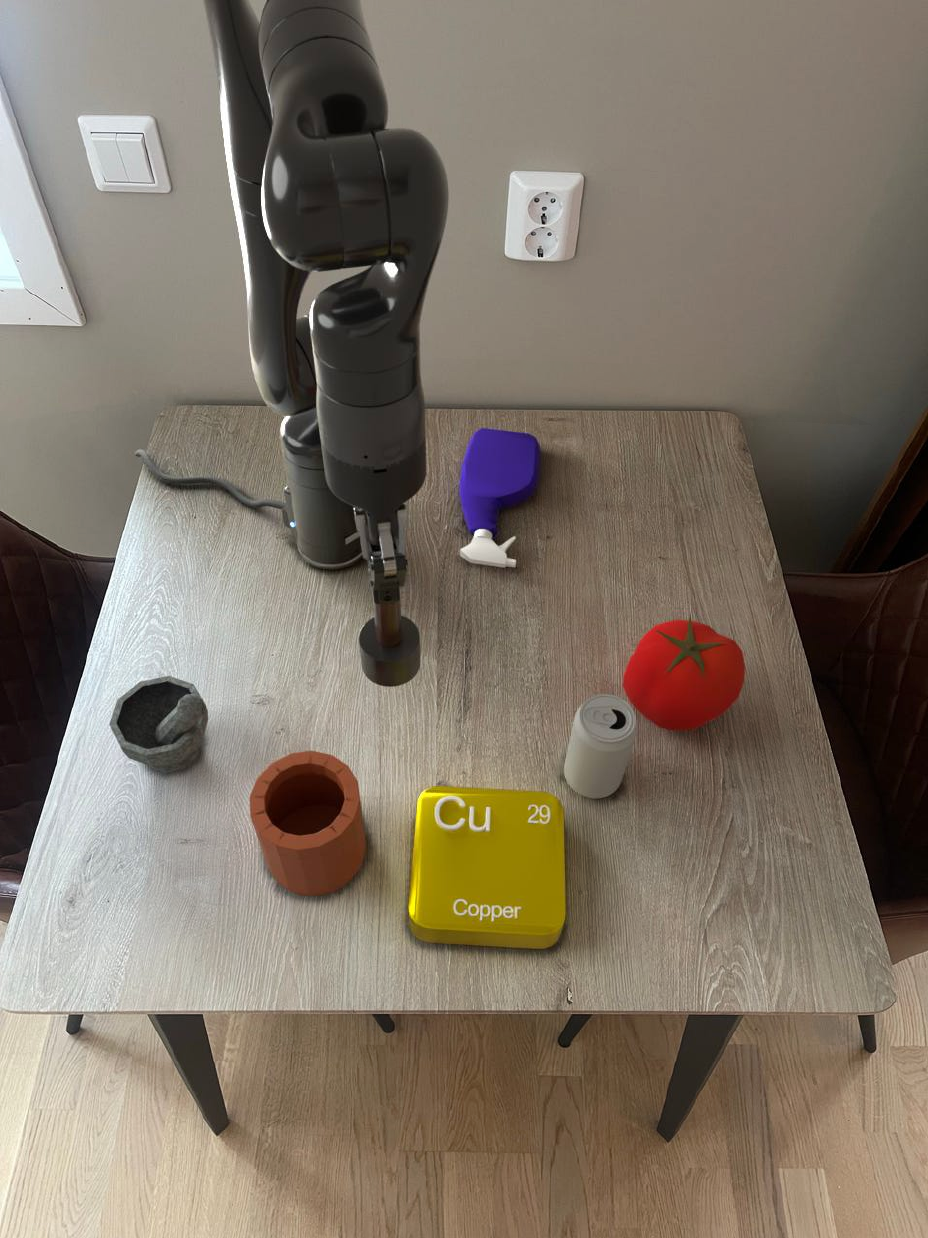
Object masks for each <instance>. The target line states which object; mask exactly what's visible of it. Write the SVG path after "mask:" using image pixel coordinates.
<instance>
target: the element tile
mask: <svg viewBox="0 0 928 1238" xmlns="http://www.w3.org/2000/svg"><path fill="white" fill-rule="evenodd" d="M415 811H416V813H415V822H414V823H415V824H414V835H413V844H412V845H413V847H412V857H411V868H410V880H409V892H408V904H407V906H408V907H407V911H408V925H409V929H410V931H411V933H412V935H413V936H414V937H415V938H416V939H418V940H420V941H422V942H425V943H429V944H431V943H432V944H448V945H464V946H483V947H499V948H516V949H530V950H531V949H533V950H542V949H548V948H550V947H553V946H554V945H555V944H556V943H558V941H559V939H560V937H561V935H562V931H563V928H564V925H565V922H566V916H567V911H566V909H567V908H566V907H567V905H566V859H565V858H566V857H565V856H566V855H565V851H566V850H565V811H564V807H563V804H562V802H561V801H560V799H559V798H558V797H557V796H556V795H555V794H552V793H549V792H546V791H537V790H520V789H519V790H518V789H502V788H486V787H465V786H450V785H434V786H431V787H427V788H425V790H423V791H422V792H421V794H420V796H419V798H418V799H417V802H416V810H415Z"/></svg>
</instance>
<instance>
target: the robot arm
mask: <svg viewBox="0 0 928 1238" xmlns="http://www.w3.org/2000/svg"><path fill="white" fill-rule="evenodd" d="M202 1H203V7H204V12H205V16H206V21H207V27H208V32H209V38H210V43H211V49H212V53H213V60H214V66H215V75H216V82H217V89H218V97H219V98H218V99H219V106H220V115H221V122H222V132H223V139H224V149H225V158H226V165H227V171H228V179H229V186H230V193H231V199H232V204H233V209H234V214H235V218H236V224H237V225H236V226H237V230H238V235H239V236H238V237H239V243H240V248H241V254H242V261H243V262H242V263H243V269H244V278H245V289H246V307H247V308H246V309H247V325H248V327H247V328H248V342H249V344H248V345H249V354H250V362H251V367H252V373H253V376H254V380H255V383H256V385H257V389H258V391H259V393H260V396H261V397H262V399H263V401H264V402H265V404H266V406H267V407H268V408H269V409H270V410H271V411H272V412H273V413H275V414H277V415H279V416H281V417H284V418H283V419H282V420H281V424H280V428H279V439H280V445H281V450H282V456H283V460H284V462H283V463H284V468H285V472H286V480H287V486H285V488H284V489H283V494H284V495H283V496H284V501H285V502H284V501H281V500H280V501H279V500H275V499H269V498H268V499H265V498H264V499H259V500H254V499H251V498H249V497H248V496H246V495H245V494H244V493H242V492H241V491H240V490H239V489H238V488H237V487H236V486H234V485H233V484H232V483H231V482H228V481H227V480H225V479H223V478H220V477H216V476H209V475H198V476H197V475H195V476H172V475H168V474H166V473H165V472H162V471H161V470H160V469H159V467H157V465H156V464H155V463H154V461H153V459H152V458H151V456H150V455H149V454H148V452H146V450H144V449H137V450H136V451H135V452H134V456H135V457H137V458H140V457H141V459H142V460H143V461H144V463H145V465H146V466H147V468H148V469H149V471H151V473H152V474H153V476H155V477H157V478H158V479H159V480H161V481H162V482H165V483H168V484H173V485H174V484H175V485H192V484H193V485H195V484H210V485H216V486H220V487H222V488H224V489H225V490H227V491H228V492H230V493H231V494H232V495H233V496H234V497H235V498H237V499H238V500H239V502H241V503H242V504H244V505H246V506H247V507H250V508H255V509H258V508H264V507H267V508H268V507H269V508H275V509H279V510H281V515H282V520H283V525H284V527H286V528H288V529H289V530H290V535H291V541H292V543H293V544H295V545H296V546H297V550H298V553H299V555H300V557H301V558H302V559H303V560H304V561H305V562H306V563H307V564H309V565H311V566H313V567H315V568H318V569H321V570H333V571H334V570H340V569H341V570H342V569H346V568H348V567H351V566H353V565H355V564H356V563H359V561H360V560H361V559H364V560H365V561H367V572H368V576H369V578H370V587H371V589H372V588H373V597H374V602H375V603H376V604H387V603H394V602H397V601H399V600H400V601H401V588H402V587H405V583H406V578H407V570H408V566H409V561H408V558H406V555H405V554H406V552H407V547H406V546H407V545H406V530H405V529H406V527H407V525H408V512H407V505H406V502H408V501H409V500H410V499H412V498H413V497H415V495H417V494H418V492H420V490H421V489H422V488H423V485H424V483H425V480H426V477H427V441H426V439H427V437H426V436H427V435H426V433H427V432H426V431H427V430H426V401H425V400H426V399H425V392H424V388H423V382H422V374H421V373H422V370H421V369H422V368H421V366H422V365H421V363H422V362H421V321H422V315H423V309H424V305H425V300H426V296H427V291H428V287H429V284H430V280H431V277H432V274H433V271H434V268H435V265H436V261H437V259H438V255H439V251H440V249H441V245H442V241H443V237H444V233H445V229H446V224H447V220H448V212H449V202H450V201H449V199H450V192H449V190H450V189H449V182H448V175H447V171H446V168H445V164H444V162H443V160H442V157H441V155H440V153H439V152H438V150H437V148H436V147H435V145H434V144H433V143H432V142H431V141H430V139H429V138H427V136H425V135H424V134H422V133H421V132H420V131H417V130H414V129H412V128H406V127H405V128H404V127H396V128H395V127H394V128H393V127H392V128H387V124H388V119H389V103H388V102H389V101H388V97H387V91H386V89H385V84H384V80H383V77H382V75H381V71H380V68H379V65H378V62H377V58H376V55H375V52H374V48H373V45H372V41H371V39H370V36H369V32H368V29H367V26H366V21H365V17H364V11H363V7H362V1H361V0H266V1H265V4H264V6H263V8H262V12H261V16H260V20H259V18H258V17H257V14H256V12H255V11H254V8H253V7H252V4H251V2H250V0H202ZM363 267H367V268H366V269H363V270H362V271H360V272H359V273H355V274H354V275H352V276H351V275H350V276H348V277H346V278H344V279H342V280H340V281H338V282H335V283H333V284H331V285H329V286H327V287H326V288H324V289H323V290H321V291H320V292H319V293H318V294H317V296H316V297H315V298H314V300H313V301H312V304H311V306H310V311H309V314H306V315H302V316H300V317H298V310H299V304H300V301H301V298H302V294H303V292H304V289H305V287H306V285H307V282H308V281H309V278H310V276H311V274H312V273H320V272H321V273H322V272H330V271H332V272H333V271H338V270H346V269H354V268H355V269H356V268H363ZM371 579H372V580H371ZM373 597H372V598H373Z"/></svg>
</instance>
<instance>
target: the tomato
mask: <svg viewBox="0 0 928 1238" xmlns="http://www.w3.org/2000/svg"><path fill="white" fill-rule="evenodd" d="M691 614H692V613H689V619H688V620H687V619H674V620H673V619H672V620H670V621H669V620H668V621H665V622H664V621H663V622H661V623H659V624H656V625H654V626H653V627H652V628H651V629H649V630H648V631H647V632H646V633H645V634H644V635H643V636H642V637H641V639H640V640H639V641H638V644H637V646H636V647H635V650H634V653H633V654H632V655H630V657H629V660H628V663H627V665H626V668H625V670H624V673H623V679H622V687H623V688H622V689H623V690H624V692H625V694H626V697H627V698H628V700H629V702H630V703H631V705H632V706H633V708H634V709H635V710H636V711H637V712H638V713H640V714H641V715H642V716H643V717H644V718H645V719H647V720H648V721H650V723H652V724H654V725H655V726H657V727H658V728H660V729H664V730H668V731H672V732H677V731H678V732H679V731H691V730H696V729H698V728H701V727H702V726H704V725H706V724H708V723H710V722H711V721H714V720H715V719H717V718H719V717H720V716H722V714H724V713H726V712H727V711H728V710H729V709H730V708H731V706H732V705H734V703H735V702H736V701H737V700H738V699H739V697H740V695H741V691H742V688H743V685H744V682H745V675H746V674H745V673H746V665H745V660H744V653H743V650H742V649H741V648H740V646H739V645H738V643H737V642H736V641H735V639H732V638H730V637H727V636H725V635H722V634H720V633H718V632H717V631H716V630H714V628H713V627H712V626H710V625H709V624H705V623H701V622H698V621H694V620H692V615H691Z"/></svg>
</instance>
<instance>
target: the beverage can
mask: <svg viewBox="0 0 928 1238" xmlns="http://www.w3.org/2000/svg"><path fill="white" fill-rule="evenodd" d="M637 735H638V720H637V717H636V713H635V711H634V709H633V707H632V706H631V705H630V703H628V701H626V700H625V699H623V698H622V697H619V696H617V695H614V694H610V693H602V694H601V693H600V694H599V693H598V694H594V695H592V696H590V697H589V698H588V699H586V700H585V701H584V702H583V704H581V705H580V706H579V707H578V708H577V710H576V712H575V715H574V719H573V724H572V728H571V732H570V737H569V741H568V745H567V746H568V747H567V750H566V755H565V760H564V765H563V774H564V778H565V781H566V782H567V784H568V786H569V787H570V788H571V789H572V790H573V791H574V792H575V793H577V794H578V795H580V796H582V797H585V798H587V799H588V798H589V799H602V798H606V797H609V796H611V795H612V794H614V793H615V792H616V791H617V789H619V788H620V785H621V784H622V781H623V779H624V778H623V777H624V775H625V771H626V768H627V766H628V762H629V760H630V759H629V758H630V756H631V753H632V750H633V746H634V744H635V740H636V737H637Z"/></svg>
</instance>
